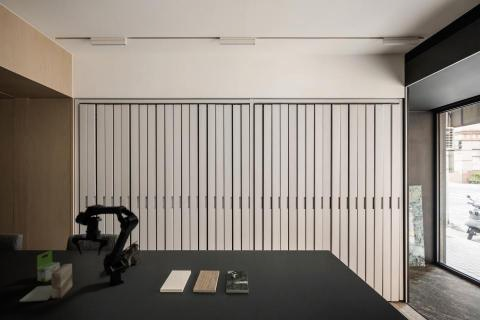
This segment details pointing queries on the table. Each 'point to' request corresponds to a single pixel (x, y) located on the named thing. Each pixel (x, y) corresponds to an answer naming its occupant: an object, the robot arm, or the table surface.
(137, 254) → the hollow geode rock
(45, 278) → the ink box
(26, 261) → the table surface
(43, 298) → the mat
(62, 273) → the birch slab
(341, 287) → the table surface
